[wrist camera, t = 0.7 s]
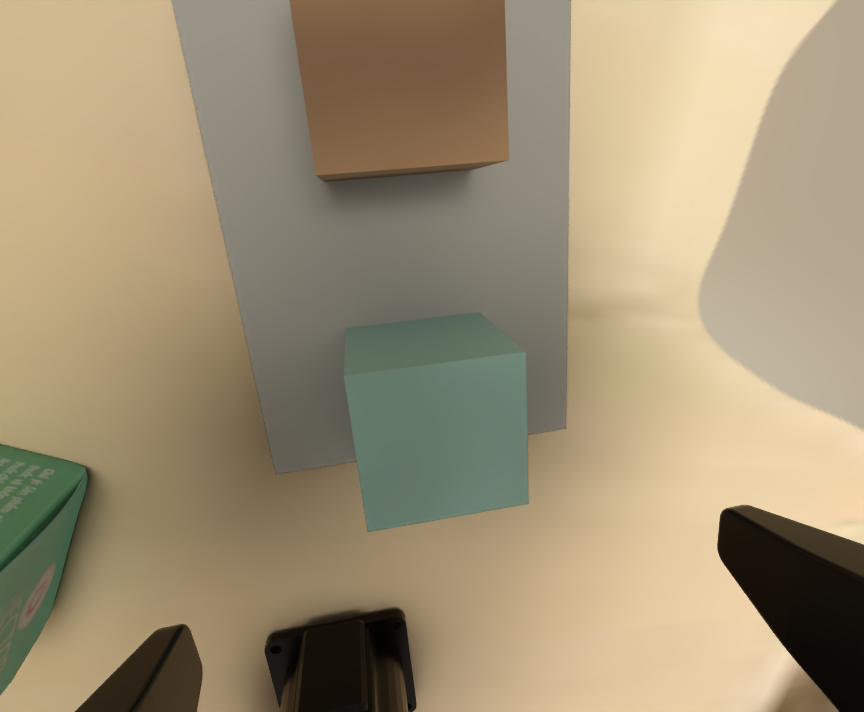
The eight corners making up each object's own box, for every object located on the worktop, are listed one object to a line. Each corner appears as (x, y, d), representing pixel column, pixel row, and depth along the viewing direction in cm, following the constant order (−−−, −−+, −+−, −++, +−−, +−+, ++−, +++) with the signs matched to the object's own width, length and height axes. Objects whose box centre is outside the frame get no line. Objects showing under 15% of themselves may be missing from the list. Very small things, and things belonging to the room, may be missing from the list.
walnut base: (472, 169, 16) (508, 160, 12) (324, 181, 15) (315, 175, 12) (463, -4, 14) (502, -76, 11) (297, 1, 14) (278, -73, 10)
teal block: (485, 430, 19) (528, 503, 15) (363, 449, 19) (367, 532, 14) (479, 312, 18) (525, 351, 13) (346, 328, 17) (343, 376, 12)
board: (556, 418, 21) (566, 428, 20) (279, 461, 19) (275, 474, 18) (558, -13, 16) (571, -27, 15) (180, -2, 14) (168, -16, 13)
